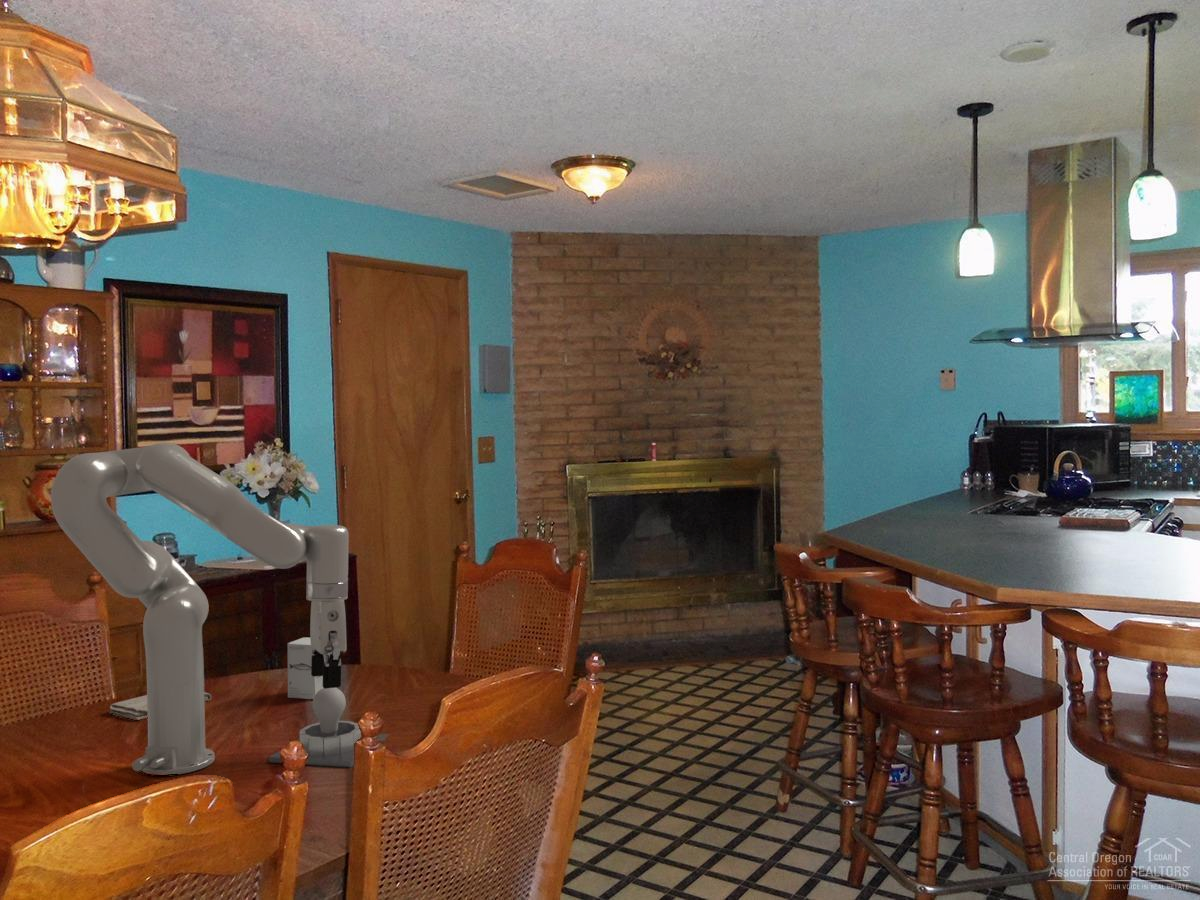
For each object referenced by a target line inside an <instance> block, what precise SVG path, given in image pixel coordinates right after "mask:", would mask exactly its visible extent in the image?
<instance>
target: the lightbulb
mask: <svg viewBox="0 0 1200 900" xmlns="http://www.w3.org/2000/svg"><path fill="white" fill-rule="evenodd" d="M311 704H312V705H311V706H312V710H313V712H314V715H315V717H316V718H317V719H318V723H319V722H320V727H321V732H322V737H332V736H336V735H337V730H338V723H339V721H340V719H341V717H342V715H343V713H344V710H345V708H346V705H347V700H346V696H345V694H344V692H343V691H342V690H341V689H339V687H336V688H327V689H325V688H323V689H321V690H320V691H318V692H317V693H316V695H315V696H314V698H313V700H312V703H311Z"/></svg>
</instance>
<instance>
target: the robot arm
mask: <svg viewBox="0 0 1200 900" xmlns="http://www.w3.org/2000/svg"><path fill="white" fill-rule="evenodd" d="M50 489H51V490H50V505H51V510H52V513H53V516H54V518H55V520H56V522H57V524H58V526H59V527H60V529H62V531H63V532H64V534H66V536H67V537H68V538H69V539H70V540H71V542H72V543H73V544H74V545H75V546H76V547H77V548H78V550H79V551H80V552H81V553H82V555H84V556H85V558H86V559H87V560H88V562H89V563H90V564H91V565H92V566H93V567H94V569H95V570H96V571H97V572H98V573H99V574H100V575H101V576H102V577H103V579H104V580H105V581H106V582H107V584H108V585H109V586H110V587H111V588H112V589H113V591H114V592H116V593H117V594H119V595H120V596H121V597H125V598H129V599H139V601H140V602H141V603H142V605H144V607H145V608H146V611H145V613H144V617H143V621H142V622H143V623H142V632H143V633H142V634H143V643H144V650H145V651H144V653H145V668H146V671H145V672H146V695H147V713H148V719H147V746H146V747H145V754H143V756H141V757H139V758H137V759H135V760H134V761H133V762H132V763H131V765H132V766H131V768H132V769H133V770H134V771H135V772H141V771H143V772H146V773H153V774H176V773H177V774H178V775H183V774H189V773H192V772H195V771H200V770H202V769H204V768H207V767H209V766H210V765H211V764H212V763H213V762H214V761H215V757H216V756H215V755H216V754H215V752H214V751H213V750H212V749H210V748H206V715H205V713H206V712H205V705H206V703H205V700H204V692H205V674H204V673H205V671H204V670H205V666H204V647H203V625H204V624H205V621H206V620H207V618H208V615H209V610H210V609H209V607H210V605H209V601H208V598H207V595H206V594H205V592H204V591H203V589H201V587H200V586H199V585H198V584H197V582H196V581H195V580H194V579H193V578H192V577H191V576H190V575H189V574H188V572H187V571H186V570H185V569H184V567H182V565H181V564H180V563H179V562H178V561H177V560H176V558H175V557H174V556H173V555H172V554H171V553H170V552H169V551H168V550H167V549H166V548H165V547H163V546H162V545H160V544H158V543H157V542H154V541H150V540H141V539H140V537H138V536H137V535H136V533H135V532H134V531H133V530H131V528H130V527H129V525H127V523H126V522H125V521H124V519H123V518H121V517H120V516H119V514H118V513H116V512H115V511H114V510H113V509H112V508H111V507H110V505H109V503H108V501H107V498H110V497H116V496H123V495H124V496H125V495H130V494H137V493H145V492H151V491H153V492H155V493H156V494H158V495H160V496H161V497H163V498H165V499H166V500H168V501H169V502H171V503H173V504H175V506H178V507H179V508H180V509H183V510H185V511H186V512H187V513H189V514H191V515H192V516H194V517H195V518H198V519H199V520H200V521H202V522H203V523H205V524H206V525H207V526H208V527H210V528H211V529H213V530H214V531H216V532H217V533H219V534H220V535H221V536H223V537H225V538H226V539H227V540H229V541H230V542H232V543H233V544H235V546H237V547H239V548H241V549H242V550H244V551H245V552H247V553H249V554H250V555H252V556H253V557H255V558H256V559H258V560H259V561H261V562H263V563H264V564H267V565H269V566H271V567H272V568H276V569H279V570H280V569H283V570H286V569H291V568H292V567H295V566H296V565H297V564H298V563H300V562H302V561H303V562H304V561H306V593H305V594H306V596H305V597H306V598H305V599H306V600H307V601H311V602H310V603H311V605H310V621H309V622H310V625H309V626H310V627H309V631H310V633H309V636H310V637H309V638H310V641H311V645H312V661H311V675H312V676H313V677H314V676H323V688H325V689H327V688H340V687H341V686H342V661H341V660H342V654H344V653H346V651H347V649H348V648H347V621H346V620H347V618H346V617H347V616H346V605H345V600H347V599H348V595H349V594H348V593H349V547H350V546H349V541H350V540H349V539H350V538H349V537H350V536H349V535H350V534H349V531H348V528H346V527H345V526H344V525H339V524H320V525H319V524H318V525H303V524H296V523H282V522H281V521H279V520H277V519H276V518H274V517H273V516H272V515H270V514H268V513H267V512H265V511H263V510H262V509H260V508H259V507H258V506H256V505H255V504H254V503H253V502H252V501H250V500H249V498H247V497H246V496H245V495H244V494H243V492H242V491H241V490H240V488H239V487H238V486H236V485H235V484H234V483H233V482H232V481H229V480H228V479H226V478H225V477H223V476H222V475H220V474H218V473H216V472H214V471H213V470H212V469H210V468H209V467H207V466H205V465H203V464H202V463H201V462H199V461H197V460H196V459H194V458H193V457H192V456H191V455H190V453H189V452H188V451H187V450H186V449H184V447H182V446H181V445H179V444H176V443H172V442H158V443H153V444H152V445H148V446H142V447H134V448H133V447H132V448H125V449H119V450H118V449H116V450H108V451H101V452H86V453H81V454H78V455H75V456H72V458H69V460H67V461H66V462H65V463H64V464H63V465H62V466H61V467H60V469H59V470H58V471H57V473H56V476H55V477H54V480H53V483H52V486H51V488H50ZM329 655H330V656H329ZM140 770H141V771H140Z"/></svg>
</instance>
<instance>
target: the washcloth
mask: <svg viewBox="0 0 1200 900" xmlns="http://www.w3.org/2000/svg"><path fill="white" fill-rule="evenodd" d="M204 700H205V701H209V700H210V701H211V700H212V694H211V693H208V692H206V691H204ZM210 701H209V702H210ZM109 709H110V710H111V711H109V714H111V715H113V716H114V715H116V716H115V717H117V716H121V717H120V718H122V716H123V717H128V718H132V719H136V720H140V719H143V718H147V717H148V713H147V694H145V695H142V696H138V697H134V698H133V697H132V698H130V699H125V700H122V701H118V702H115V703H111V704H110V706H109ZM140 721H141V720H140Z"/></svg>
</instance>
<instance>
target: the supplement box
mask: <svg viewBox="0 0 1200 900" xmlns="http://www.w3.org/2000/svg"><path fill="white" fill-rule="evenodd" d="M329 656H330V655H329ZM311 661H312V645H311V641H310V637H301V638H298V639H295V640H293V641H289V642H287V698H288V699H302V700H303V699H305V700H311V699H313V698H314V696H315V695H316V693H317V692H318V691H320V690H321V689H323V676H314V677H313V676H312V675H311Z"/></svg>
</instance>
